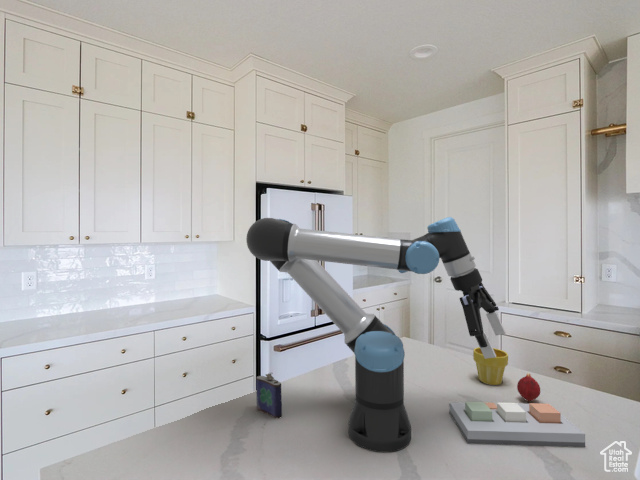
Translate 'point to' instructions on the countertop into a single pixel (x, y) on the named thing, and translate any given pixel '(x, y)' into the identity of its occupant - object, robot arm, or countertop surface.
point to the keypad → (515, 429)
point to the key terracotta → (544, 413)
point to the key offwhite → (511, 412)
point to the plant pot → (490, 366)
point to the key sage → (478, 411)
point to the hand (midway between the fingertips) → (496, 345)
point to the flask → (269, 396)
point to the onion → (528, 388)
